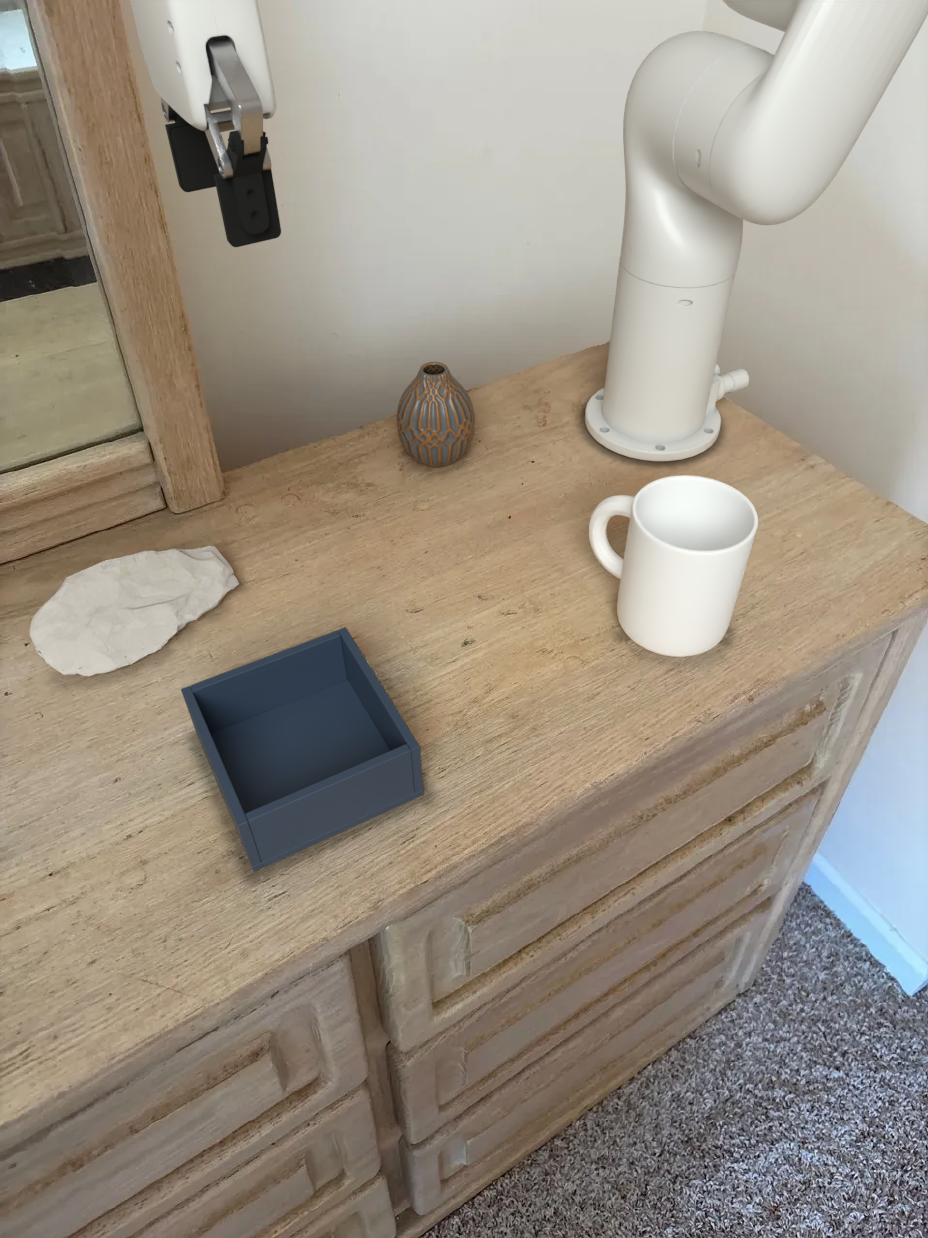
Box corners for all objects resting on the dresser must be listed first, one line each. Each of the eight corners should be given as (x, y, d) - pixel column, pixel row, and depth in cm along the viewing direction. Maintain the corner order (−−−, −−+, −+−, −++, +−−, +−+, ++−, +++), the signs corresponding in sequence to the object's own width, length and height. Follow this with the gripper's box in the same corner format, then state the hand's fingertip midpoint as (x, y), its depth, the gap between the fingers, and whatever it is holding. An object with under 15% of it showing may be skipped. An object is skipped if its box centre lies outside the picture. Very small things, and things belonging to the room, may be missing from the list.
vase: (415, 485, 79) (410, 397, 73) (388, 443, 84) (381, 358, 77) (487, 465, 81) (488, 378, 75) (456, 426, 86) (455, 341, 79)
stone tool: (70, 711, 64) (257, 616, 70) (61, 694, 61) (257, 596, 67) (16, 616, 66) (202, 532, 72) (5, 596, 63) (199, 510, 69)
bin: (353, 676, 64) (345, 626, 60) (423, 795, 57) (420, 746, 53) (198, 738, 60) (180, 688, 56) (253, 872, 53) (237, 826, 49)
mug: (553, 601, 69) (562, 493, 62) (615, 547, 73) (631, 440, 66) (689, 679, 63) (717, 571, 56) (748, 616, 68) (781, 507, 60)
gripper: (293, -130, 40) (338, 250, 53) (181, -164, 51) (240, 158, 63) (126, -114, 38) (214, 280, 50) (45, -153, 49) (134, 180, 61)
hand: (228, 212), depth 57 cm, fingers open, 9 cm apart
